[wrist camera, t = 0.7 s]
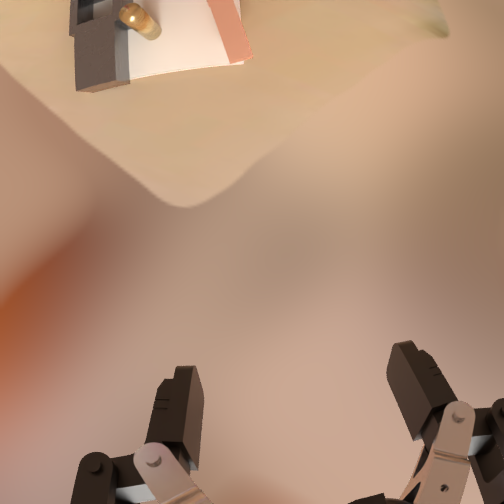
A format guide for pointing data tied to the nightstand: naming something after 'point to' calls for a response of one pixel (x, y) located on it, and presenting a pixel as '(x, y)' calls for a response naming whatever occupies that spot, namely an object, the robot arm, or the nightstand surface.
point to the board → (174, 37)
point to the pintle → (140, 21)
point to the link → (99, 46)
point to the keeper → (230, 30)
